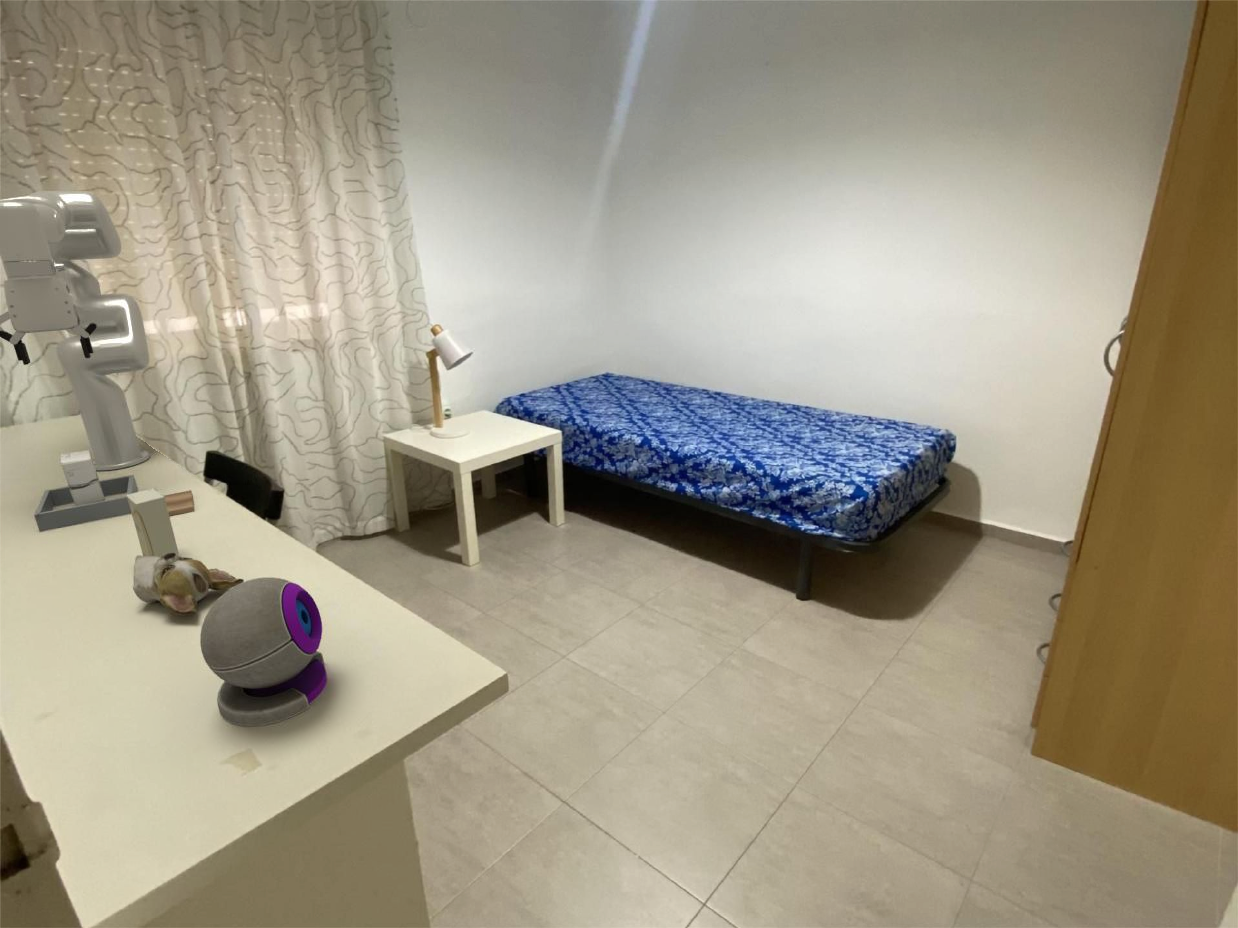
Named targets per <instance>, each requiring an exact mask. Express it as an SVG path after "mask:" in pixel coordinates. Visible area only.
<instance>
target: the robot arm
mask: <svg viewBox="0 0 1238 928" xmlns="http://www.w3.org/2000/svg"><path fill="white" fill-rule="evenodd" d="M121 251H122V242H121V239H120V236H119V233H118V231H117V229H116V227H115V225H114V222H113V220H112V218H111V216H110V214H109V212H108V210H107V208H106V206H105V204H104V203H103V201H102V200H101V199H100V198H99V197H98V196H97V195H96V194H95V193H92V192H91V191H88V190H43V191H42V190H41V191H36V192H33V193H31V194H28V195H25V196H22V195H21V196H15V197H9V198H3V199H0V259H1V262H2V267H3V269H4V273H5V276H6V277H7V278H6V279H7V280H3V289H4V297H5V298H4V299H5V301H6V306H7V311H5V312H4V313H3V314H1V315H0V338H1V339H3V340H4V341H7V342H8V343H10V344H11V345H13V348H14V351H15V354H16V357H17V360H18V361H20V362H21V361H22V363H23V365H24V366H27V365H29V364H30V363H31V359H30V356H29V353H28V350H27V347H26V344H25V343H24V342H23V341H22V339H23V338H24V336H25V335H26V334H30V333H31V334H33V333H45V332H54V331H55V332H57V331H66V332H67V333H68V334H70V335H72V336H69V337H66V338H63V340H61V341H60V342H59V343H58V344H57V346H56V349H55V353H56V356H57V360H58V362H59V364H60V366H61V367H62V370H63V371H64V373H65V375H66V377H67V379H68V382H69V384H70V386H71V389H72V392H73V395H74V399H75V401H76V404H77V406H78V407H77V408H78V411H79V414H80V417H81V420H82V423H83V426H84V429H85V432H86V435H87V439H88V443H89V445H90V450H91V452H92V455H93V459H92V461H93V464H94V467H95V470H96V471H113V470H119V469H124V468H128V467H133V466H135V465H139V464H141V463H144V462H145V461H147V460H148V459H149V458H150V452H149V451H147V450H144V449H143V450H142V449H141V448H140V445H139V441H138V437H137V434H136V431H135V427H134V424H133V423H134V422H133V419H132V415H131V413H130V410H129V409H130V408H129V406H128V402H127V399H126V395H125V392H124V390H123V388H122V387H121V386H120V385H119V384H118V383H117V382H115V381H114V380H112V379H111V378H110V377H108V376H107V375H112V374H122V373H130V372H132V373H133V372H139V371H142V370H144V369H145V370H146V369H147V367H148V366H149V364H150V354H149V347H148V341H147V335H146V331H145V325H144V321H143V319H144V318H143V316H142V312H141V309H140V306H139V305H138V302H137V301H136V300H135V298H133V297H132V296H131V295H128V294H125V293H106V294H102V292H101V286H100V282H99V280H98V279H97V277H95V276H94V275H93V274H91V272H89V271H88V270H87V269H86V268H83V266H80V265H78V264H76V263H74V262H73V261H78V260H82V261H83V260H101V259H102V260H103V259H113V258H116V257H118V256H119V255H120V254H121ZM7 321H10V322H11V326H12V327H13V330H14V333H13V334H11V333H10V332H8V331H6V330H5V329H4V328H3V327H2V326H1V325H2V324H3V323H5V322H7Z"/></svg>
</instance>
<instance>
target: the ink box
mask: <svg viewBox="0 0 1238 928" xmlns="http://www.w3.org/2000/svg"><path fill="white" fill-rule="evenodd" d="M92 460H93V459H92V456H91V453H90V450H89V449H87V450H81V451H74V452H68V453H67V452H66V453H62V454H60V464H61V466H62V470H63V474H64V476H65V479H66V483H67V485H68V486H69V489H70V492H71V495H72V497H73V500H74V505H75V506H78V505H84V504H89V503H94V502H99V501H105V500H106V498H105V497H104V495H103V491H102V488H101V485H100V482H99V481H100V479H99V476H98V473H97V470H95V467H94V464H93V461H92Z"/></svg>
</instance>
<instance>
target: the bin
mask: <svg viewBox="0 0 1238 928" xmlns="http://www.w3.org/2000/svg"><path fill="white" fill-rule="evenodd" d="M99 482H100V485H101V488H102V491H103V495H104V498H105V497H109V496H116V495H121V494H125V493H126V495H128V494H132V493H136V492H139V488H138V485H137V481H136V478H135V475H134V474H130V475H124V476H119V477H118V476H117V477H112V478H107V479H102V480H99ZM73 503H74V500H73V497H72V495H71V492H70V489H69V486H63V487H57V488H53V489H46V490H44V492H43V494H42V496H41V499H40V501H39V503H38V506H37V508H36V510H35V512H34V514H33V517H34V518H35V519H34V520H35V522H36V525H37V527H38V528H37V529H38V530H39V532H45V531H49V530H50V531H51V530H55V529H60V528H64V527H65V528H66V527H70V526H74V525H79V524H84V523H91V522H94V521H99V520H104V519H111V518H114V517H115V518H116V517H119V516H124V515H128V514H129V515H130V514H132V513H131V509H130V506H129V502H128V499H127V496H121V497H116V498H110V499H107V500H106V499H105V501H99V502H94V503H89V504H84V505H78V506H69V507H63V508H58V509H54V508H55V507H56V506H61V505H68V504H73ZM74 504H75V503H74Z"/></svg>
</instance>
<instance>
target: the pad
mask: <svg viewBox="0 0 1238 928" xmlns="http://www.w3.org/2000/svg"><path fill="white" fill-rule="evenodd" d="M192 492H193V491H192V490H191V489H190V490H185V491H180V492H175V493H169V494H165V495H163V496H164V497H165V501H166V505H167V509H168V513H169V517H174V516H177V515H181V514H186V513H192V512H195V507H194V506H195V505H194V499H193V498H194V497H193V493H192Z"/></svg>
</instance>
